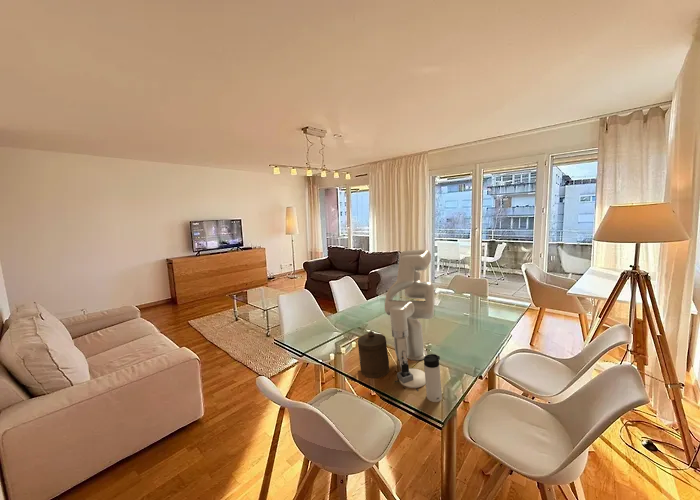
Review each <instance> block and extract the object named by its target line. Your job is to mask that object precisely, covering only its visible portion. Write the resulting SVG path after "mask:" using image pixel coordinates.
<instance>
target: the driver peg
mask: <svg viewBox="0 0 700 500" xmlns="http://www.w3.org/2000/svg"><path fill="white" fill-rule="evenodd" d="M402 357H403V356H402ZM398 360H399V361H398ZM402 360H403V361H404V359H402ZM397 361H398V364H399V368H400V372H402V368H401V364H402V362H401V359H398V358H397ZM402 376H403V377H406V376H409V373H408V372H404V373H403V372H402Z"/></svg>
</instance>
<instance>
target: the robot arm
mask: <svg viewBox="0 0 700 500" xmlns="http://www.w3.org/2000/svg"><path fill="white" fill-rule="evenodd" d="M431 255H432V254H431V252H430V251H429V250H428V249H409V250H408V249H407V250H404V251H403V250H402V251H401V252H400V254H399V261H398V268H397V269H398V270H397V276H396V277H397V278H396V281H395V282H394V283H393V284H392V285H391V286H390V287H389V288H388V290H387V292H386V295H385V301H384V312H385V314H386V315H388V316H389V317H390V326H391V327H390V328H391V336H392V337H393V343H394V351H395V355H396V358H397V361H398V362H399V360H398V359H401V362H402V364H401V368H402V372H403V373H404V372H409V369H410V367H409V362H408V361H422V360H424V358H425V356H426V355H428V352H427V350H425V348H424V337H423V325H422V323H421V321H420V320H423V319H424V320H430V319H433V318H434V314H435V289H434V288H435V287H434V285H433V283H432V282H430V281H421V272H420V271H426V270H427V269H428V267H429V266H430V263H431V260H432V258H431V257H432V256H431ZM403 290H404V295H405V297H406V298H408V299H409V300H398V299H396V300H394V298H395V296H396V295H397V294H398V293H400V292H401V291H403ZM411 299H412V300H411ZM414 299H415V300H414ZM417 299H418V300H417ZM419 299H422V300H419ZM402 356H403V357H402ZM407 358H408V359H407ZM402 359H404V361H403V360H402ZM409 359H410V360H409ZM401 368H400V369H401Z"/></svg>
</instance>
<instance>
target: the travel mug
mask: <svg viewBox="0 0 700 500" xmlns="http://www.w3.org/2000/svg"><path fill="white" fill-rule="evenodd" d="M440 359H441V357H440V356H439V355H437V354H435V353H434V354H433V353H431V354H427V355H426V356H425V358H424V359H423V367H424V372H425V381H426V384H425V390H426V399H427V400H428V401H430V402H433V403H439V402H441V401H442V399H443V391H442V382H441V381H442V380H441V367H440Z"/></svg>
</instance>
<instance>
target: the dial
mask: <svg viewBox="0 0 700 500" xmlns="http://www.w3.org/2000/svg"><path fill="white" fill-rule="evenodd" d="M408 373H409V376H406V377H403V376H402V372H401V371H399V372H398V371H397V372H396V374H397V375H396V376H397V378H398V381H399V383H400V384H401V385H402V386H404V387H405V388H409V389H410V388H411V389H416V388H421V387H423V386H426V381H425V371H423V369H422V370H421V369H419V368H409V372H408Z"/></svg>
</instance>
